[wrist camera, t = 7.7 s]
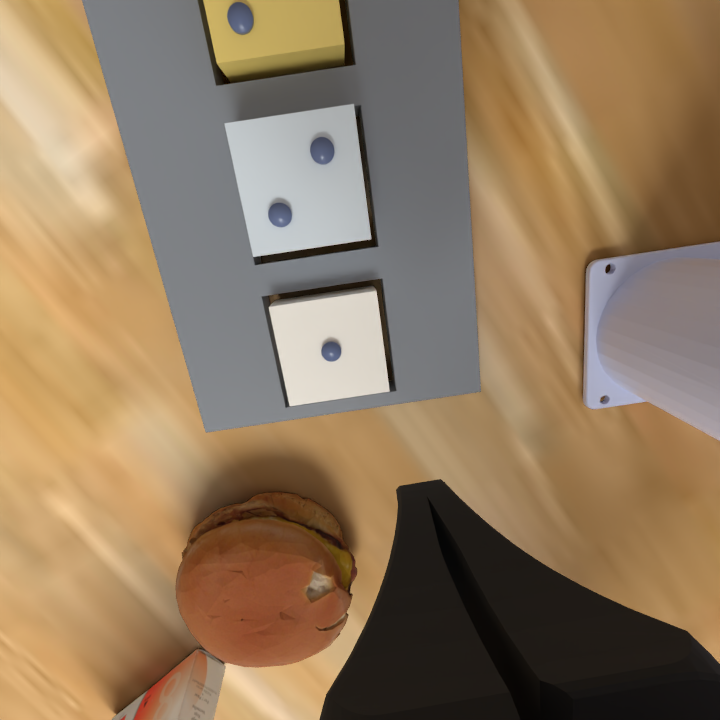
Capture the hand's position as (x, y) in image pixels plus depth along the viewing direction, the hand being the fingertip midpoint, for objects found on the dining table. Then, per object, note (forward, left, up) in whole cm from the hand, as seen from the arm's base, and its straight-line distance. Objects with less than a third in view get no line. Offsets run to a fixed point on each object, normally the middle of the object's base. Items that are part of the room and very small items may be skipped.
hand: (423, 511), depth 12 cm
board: (+2, -10, -10) cm, 15 cm away
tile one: (+2, -3, -10) cm, 11 cm away
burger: (+8, +10, -11) cm, 17 cm away
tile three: (+2, -17, -10) cm, 20 cm away
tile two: (+2, -10, -9) cm, 14 cm away
